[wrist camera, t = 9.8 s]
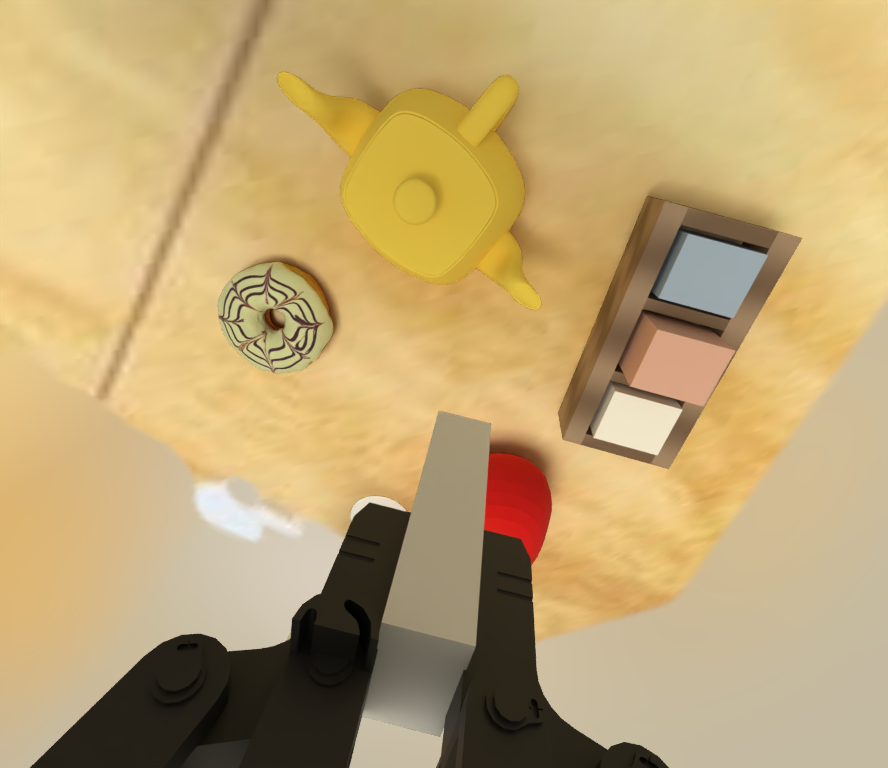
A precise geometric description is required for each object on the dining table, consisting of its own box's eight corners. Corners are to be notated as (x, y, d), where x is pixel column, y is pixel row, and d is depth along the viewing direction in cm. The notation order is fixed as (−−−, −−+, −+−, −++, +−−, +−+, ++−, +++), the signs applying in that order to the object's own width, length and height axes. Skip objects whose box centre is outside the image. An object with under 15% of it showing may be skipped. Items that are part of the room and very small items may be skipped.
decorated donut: (358, 321, 46) (346, 334, 43) (289, 380, 50) (273, 396, 47) (280, 236, 43) (261, 242, 40) (214, 305, 47) (191, 317, 44)
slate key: (667, 224, 37) (688, 233, 33) (737, 243, 37) (768, 255, 33) (642, 282, 40) (658, 298, 35) (708, 300, 40) (733, 318, 35)
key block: (647, 196, 38) (665, 201, 33) (767, 228, 38) (802, 238, 33) (558, 412, 47) (562, 439, 43) (654, 439, 47) (668, 469, 43)
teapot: (612, 191, 38) (646, 203, 28) (485, 326, 44) (477, 374, 35) (401, -20, 34) (356, -90, 24) (293, 163, 40) (224, 165, 31)
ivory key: (604, 366, 43) (615, 391, 39) (665, 383, 43) (682, 409, 39) (585, 410, 46) (593, 437, 41) (643, 426, 45) (657, 455, 41)
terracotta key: (640, 309, 38) (657, 329, 34) (709, 328, 38) (735, 350, 34) (617, 361, 40) (630, 386, 36) (682, 378, 40) (703, 406, 36)
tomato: (576, 486, 51) (592, 569, 41) (481, 542, 56) (474, 628, 46) (502, 409, 48) (500, 478, 38) (409, 476, 53) (385, 552, 43)
